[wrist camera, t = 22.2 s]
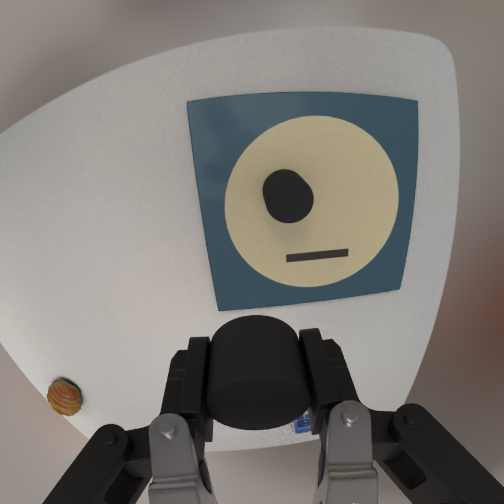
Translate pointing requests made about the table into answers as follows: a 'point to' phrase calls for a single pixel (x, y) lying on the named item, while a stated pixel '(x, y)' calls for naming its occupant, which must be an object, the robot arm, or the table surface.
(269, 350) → the black short cylinder
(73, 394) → the pastry
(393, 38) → the table surface
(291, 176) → the black short cylinder
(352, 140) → the face board
